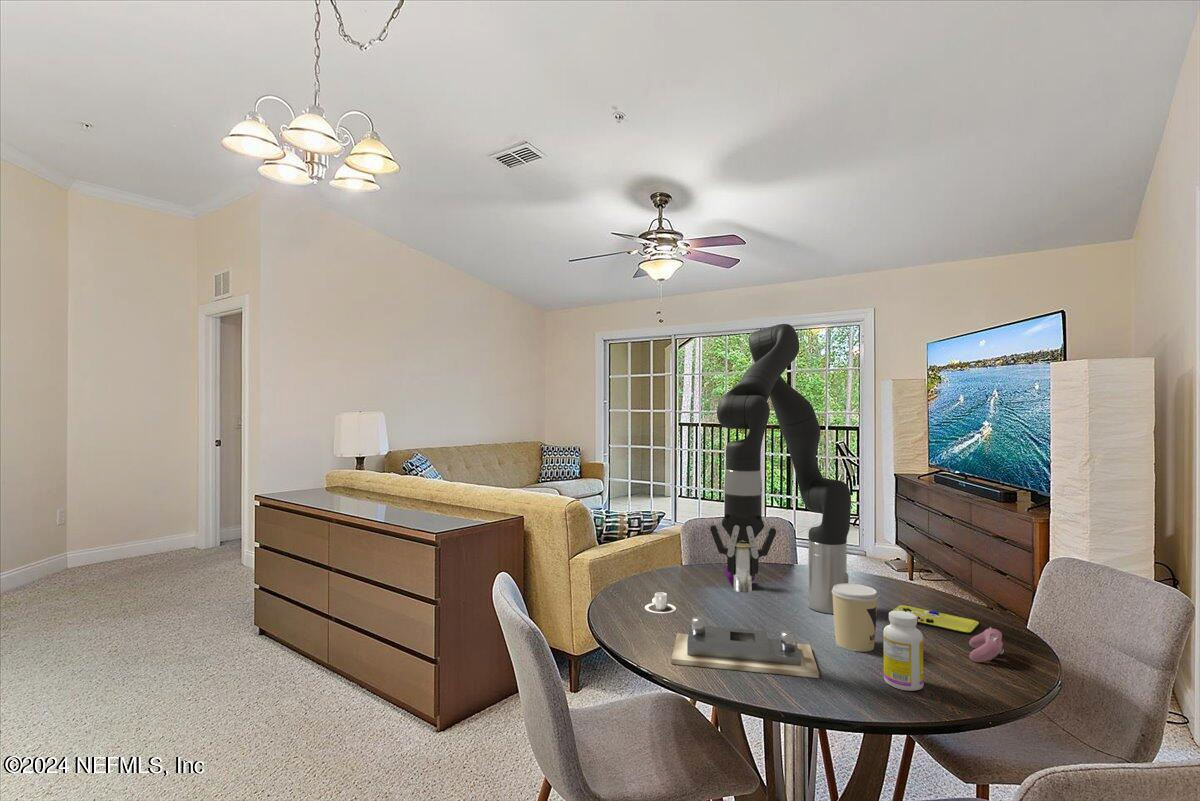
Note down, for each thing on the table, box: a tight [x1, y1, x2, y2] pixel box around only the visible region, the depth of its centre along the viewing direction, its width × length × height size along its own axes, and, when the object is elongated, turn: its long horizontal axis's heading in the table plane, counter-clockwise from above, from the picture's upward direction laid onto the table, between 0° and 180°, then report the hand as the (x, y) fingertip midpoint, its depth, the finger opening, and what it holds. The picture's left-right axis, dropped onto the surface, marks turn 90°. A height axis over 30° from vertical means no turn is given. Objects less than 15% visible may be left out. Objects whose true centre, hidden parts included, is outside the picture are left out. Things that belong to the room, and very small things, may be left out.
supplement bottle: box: [882, 610, 925, 692], centre depth 111 cm, size 7×7×13 cm
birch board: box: [670, 632, 820, 679], centre depth 123 cm, size 28×14×1 cm, turn 78°
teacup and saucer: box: [644, 591, 677, 614], centre depth 153 cm, size 9×8×4 cm
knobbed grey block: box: [687, 616, 801, 666], centre depth 123 cm, size 22×9×6 cm, turn 78°
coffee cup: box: [832, 583, 879, 653], centre depth 130 cm, size 9×9×12 cm
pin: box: [733, 540, 753, 594], centre depth 124 cm, size 4×4×10 cm
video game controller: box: [968, 626, 1004, 663], centre depth 124 cm, size 10×5×7 cm, turn 148°
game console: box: [891, 605, 980, 635], centre depth 146 cm, size 18×11×2 cm, turn 48°
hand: (742, 574), depth 124 cm, fingers closed on pin, 3 cm apart
